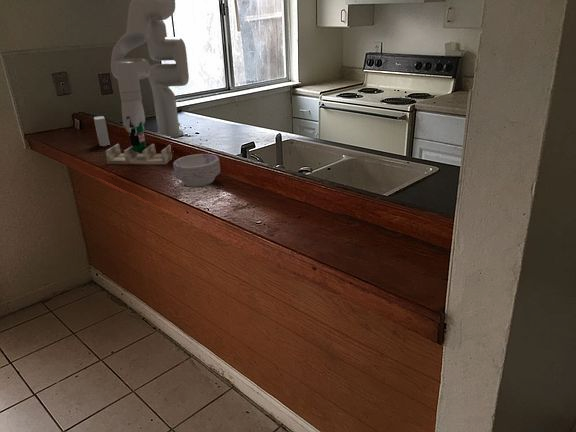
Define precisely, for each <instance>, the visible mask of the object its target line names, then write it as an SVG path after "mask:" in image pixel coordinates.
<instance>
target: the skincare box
mask: <svg viewBox="0 0 576 432" xmlns="http://www.w3.org/2000/svg"><path fill="white" fill-rule="evenodd" d="M93 121H94V126H95V127H94V128H95V131H96V135H97V141H98V145H99V147H100V146H103V147H108V146H107V145H110V146H111V143H110V139H109V133H108V127H107V123H106V119H105V117H104V116H103V115H102V116H101V115H99V116H94V117H93Z"/></svg>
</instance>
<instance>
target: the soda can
mask: <svg viewBox="0 0 576 432" xmlns="http://www.w3.org/2000/svg"><path fill="white" fill-rule="evenodd" d="M131 127H133V126H131ZM132 130H133V131H134V129H132ZM144 132H145V131H144V130H143V123H142V122H140V123H139V126H138V127H137V135H138V137H139V143H140V145H139V146H132V147H133V151H134V152H138V153H142V151H143V150H144V149H146V148H147V144H146V142H145V138H146V135H145V136H144Z"/></svg>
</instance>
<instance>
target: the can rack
mask: <svg viewBox="0 0 576 432" xmlns="http://www.w3.org/2000/svg"><path fill="white" fill-rule="evenodd" d="M155 145H156V144H155V143H151V144H150V145H148V146H146V149H144V150H143V151H142V152H141V153H139V152H134V151H133V147H132V146H131V145H130V146H129V147H128V148H126V149H124V150H123V153H122V152H121V145H120V143H116V144H115V145H113V146H111V147H110V148H108V149H106V150H105V156H106V164H107V165H167V164H168V163H169V162H171V160H173V159H172V153H171V145H170V144H168V145H167V146H165V148H163V149H162V150H160V153H157V151H156V146H155Z"/></svg>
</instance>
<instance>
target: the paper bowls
mask: <svg viewBox="0 0 576 432" xmlns="http://www.w3.org/2000/svg"><path fill="white" fill-rule="evenodd" d="M220 163H221V162H220V157H219V156H217V155H215V154H211V153H196V154H190V155H186V156H182V157H179V158H177V159H176V160H174V161H173V163H172V167H173V172H174V177H175V178H176V179H177V180H179V181H181V182H182V183H183V185H185V186H187V187H192V188H193V187H205V186H208V185H210V184H212V183H213V182H214V181H215V179H216V177H217V176H218V175H220V173H221V165H220Z"/></svg>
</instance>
